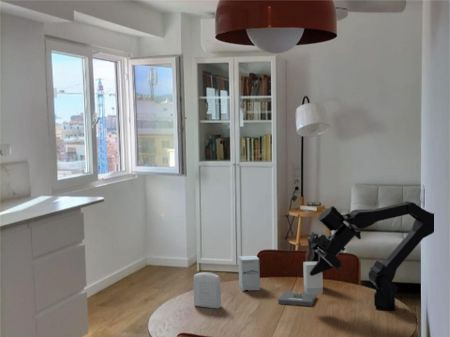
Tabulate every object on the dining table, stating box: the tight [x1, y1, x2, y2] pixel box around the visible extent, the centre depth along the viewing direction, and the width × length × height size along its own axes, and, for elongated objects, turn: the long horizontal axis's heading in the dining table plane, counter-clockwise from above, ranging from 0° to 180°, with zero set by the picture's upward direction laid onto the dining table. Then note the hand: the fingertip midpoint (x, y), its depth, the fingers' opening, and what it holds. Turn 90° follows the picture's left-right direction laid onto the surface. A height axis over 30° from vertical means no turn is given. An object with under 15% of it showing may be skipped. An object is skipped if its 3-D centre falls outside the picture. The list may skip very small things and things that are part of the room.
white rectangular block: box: [302, 261, 324, 295], centre depth 182 cm, size 6×4×10 cm
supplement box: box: [238, 255, 261, 292], centre depth 213 cm, size 7×7×13 cm
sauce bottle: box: [305, 236, 314, 262], centre depth 211 cm, size 6×6×20 cm
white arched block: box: [193, 271, 222, 309], centre depth 192 cm, size 10×4×12 cm, turn 67°
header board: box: [278, 291, 317, 307], centre depth 196 cm, size 12×10×3 cm
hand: (308, 273), depth 182 cm, fingers closed on white rectangular block, 4 cm apart
